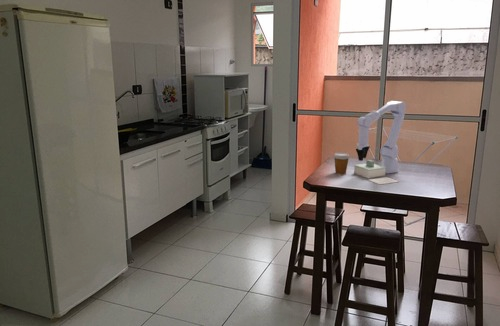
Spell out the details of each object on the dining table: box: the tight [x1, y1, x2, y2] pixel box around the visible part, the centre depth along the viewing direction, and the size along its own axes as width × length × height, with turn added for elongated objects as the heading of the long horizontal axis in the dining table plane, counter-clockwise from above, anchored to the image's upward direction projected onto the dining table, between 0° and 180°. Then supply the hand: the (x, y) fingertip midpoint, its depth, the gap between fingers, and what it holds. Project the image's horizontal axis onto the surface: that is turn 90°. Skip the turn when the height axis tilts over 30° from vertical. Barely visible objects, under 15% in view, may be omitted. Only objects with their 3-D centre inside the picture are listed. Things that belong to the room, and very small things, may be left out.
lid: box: [354, 159, 386, 171], centre depth 253 cm, size 13×13×5 cm
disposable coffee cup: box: [333, 152, 350, 175], centre depth 257 cm, size 10×10×12 cm
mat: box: [368, 176, 400, 186], centre depth 241 cm, size 14×10×1 cm
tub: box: [353, 165, 386, 179], centre depth 254 cm, size 13×13×4 cm
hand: (362, 159), depth 251 cm, fingers open, 7 cm apart
